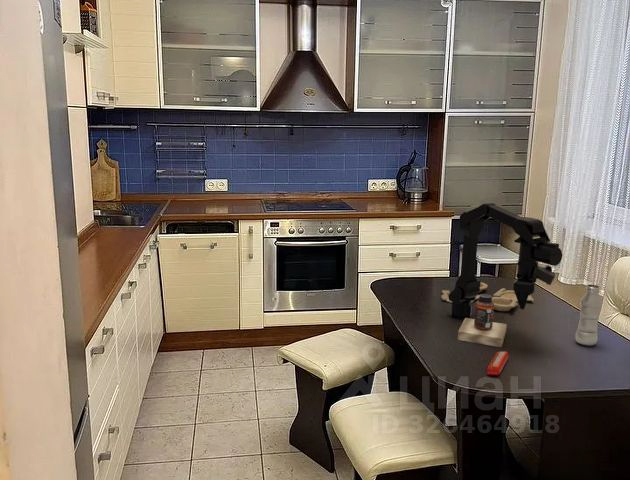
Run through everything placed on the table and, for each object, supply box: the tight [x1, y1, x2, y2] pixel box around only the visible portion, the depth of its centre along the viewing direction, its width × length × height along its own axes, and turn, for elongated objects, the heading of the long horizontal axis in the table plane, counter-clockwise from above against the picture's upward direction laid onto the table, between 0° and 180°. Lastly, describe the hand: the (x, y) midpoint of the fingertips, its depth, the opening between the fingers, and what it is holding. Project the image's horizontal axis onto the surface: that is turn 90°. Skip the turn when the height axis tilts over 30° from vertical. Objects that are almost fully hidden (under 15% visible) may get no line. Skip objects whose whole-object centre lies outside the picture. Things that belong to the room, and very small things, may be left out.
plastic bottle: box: [574, 283, 603, 347], centre depth 186 cm, size 6×7×20 cm
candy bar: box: [486, 351, 509, 376], centre depth 170 cm, size 16×4×3 cm, turn 151°
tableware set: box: [440, 281, 535, 312], centre depth 232 cm, size 35×29×4 cm
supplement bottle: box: [473, 293, 495, 330], centre depth 192 cm, size 6×6×11 cm
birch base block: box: [457, 317, 508, 348], centre depth 193 cm, size 14×14×3 cm
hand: (523, 304), depth 186 cm, fingers open, 9 cm apart
